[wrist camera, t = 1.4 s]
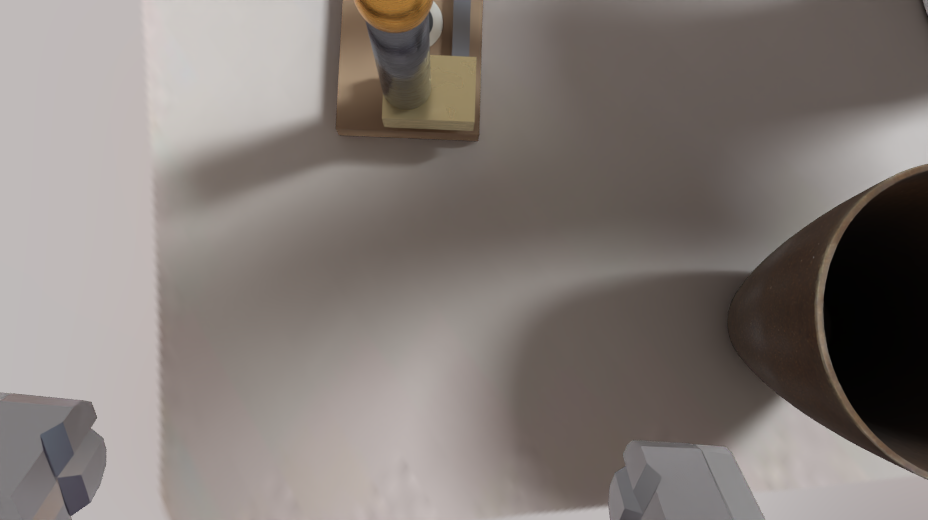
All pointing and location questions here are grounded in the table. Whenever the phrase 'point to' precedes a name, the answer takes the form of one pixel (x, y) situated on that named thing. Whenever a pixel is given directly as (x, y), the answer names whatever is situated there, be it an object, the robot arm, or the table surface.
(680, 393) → the table surface
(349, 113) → the wooden peg board
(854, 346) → the plant pot
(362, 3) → the sliding leg
